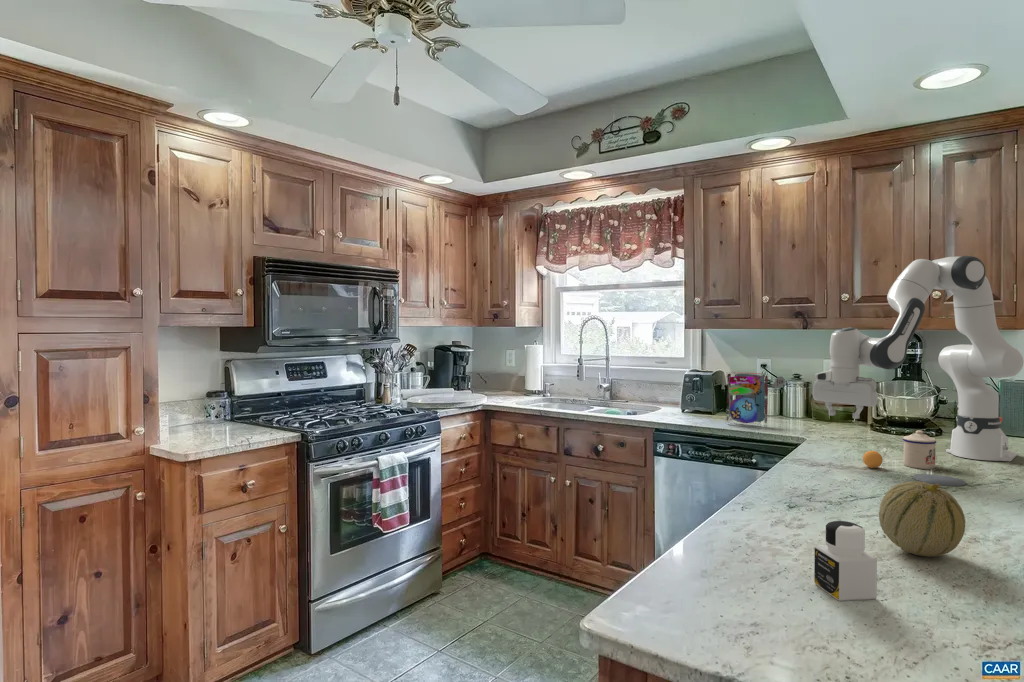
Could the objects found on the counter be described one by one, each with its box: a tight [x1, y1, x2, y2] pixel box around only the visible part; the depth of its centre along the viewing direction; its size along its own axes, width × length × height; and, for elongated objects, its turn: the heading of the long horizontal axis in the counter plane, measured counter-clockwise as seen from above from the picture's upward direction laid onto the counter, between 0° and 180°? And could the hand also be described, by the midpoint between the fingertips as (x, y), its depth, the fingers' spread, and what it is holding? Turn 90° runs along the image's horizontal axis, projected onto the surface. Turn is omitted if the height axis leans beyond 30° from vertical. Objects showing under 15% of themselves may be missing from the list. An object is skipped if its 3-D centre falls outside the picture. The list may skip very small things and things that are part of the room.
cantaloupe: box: [878, 480, 967, 558], centre depth 123 cm, size 15×15×15 cm
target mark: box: [912, 473, 967, 487], centre depth 179 cm, size 13×13×1 cm
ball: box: [862, 450, 883, 469], centre depth 195 cm, size 6×6×6 cm
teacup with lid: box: [902, 429, 937, 470], centre depth 198 cm, size 12×9×12 cm
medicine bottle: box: [813, 520, 878, 602], centre depth 106 cm, size 7×7×12 cm
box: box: [725, 371, 786, 429], centre depth 272 cm, size 25×6×24 cm, turn 50°
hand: (843, 416), depth 203 cm, fingers open, 7 cm apart
